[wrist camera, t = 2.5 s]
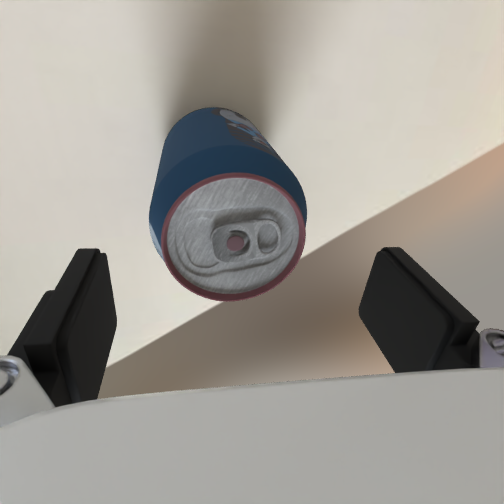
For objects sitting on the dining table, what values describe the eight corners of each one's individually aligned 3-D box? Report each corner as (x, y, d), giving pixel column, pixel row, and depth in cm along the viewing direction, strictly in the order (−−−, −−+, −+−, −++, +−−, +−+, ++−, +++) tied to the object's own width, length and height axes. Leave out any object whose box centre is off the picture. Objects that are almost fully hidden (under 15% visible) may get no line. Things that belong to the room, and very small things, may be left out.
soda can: (173, 209, 24) (164, 323, 14) (152, 109, 21) (121, 170, 11) (265, 198, 25) (317, 299, 15) (260, 99, 21) (325, 147, 11)
